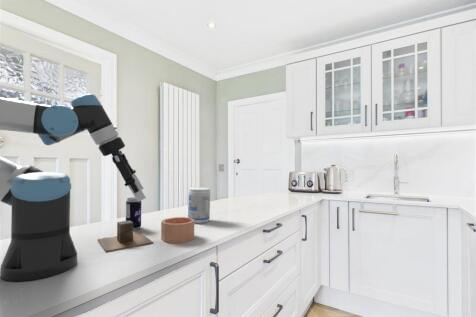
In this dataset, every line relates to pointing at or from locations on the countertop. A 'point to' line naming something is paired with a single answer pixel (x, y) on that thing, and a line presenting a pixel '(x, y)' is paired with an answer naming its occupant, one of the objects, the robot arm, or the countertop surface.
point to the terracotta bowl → (177, 229)
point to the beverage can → (133, 212)
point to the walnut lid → (124, 238)
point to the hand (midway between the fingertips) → (141, 194)
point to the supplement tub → (199, 204)
